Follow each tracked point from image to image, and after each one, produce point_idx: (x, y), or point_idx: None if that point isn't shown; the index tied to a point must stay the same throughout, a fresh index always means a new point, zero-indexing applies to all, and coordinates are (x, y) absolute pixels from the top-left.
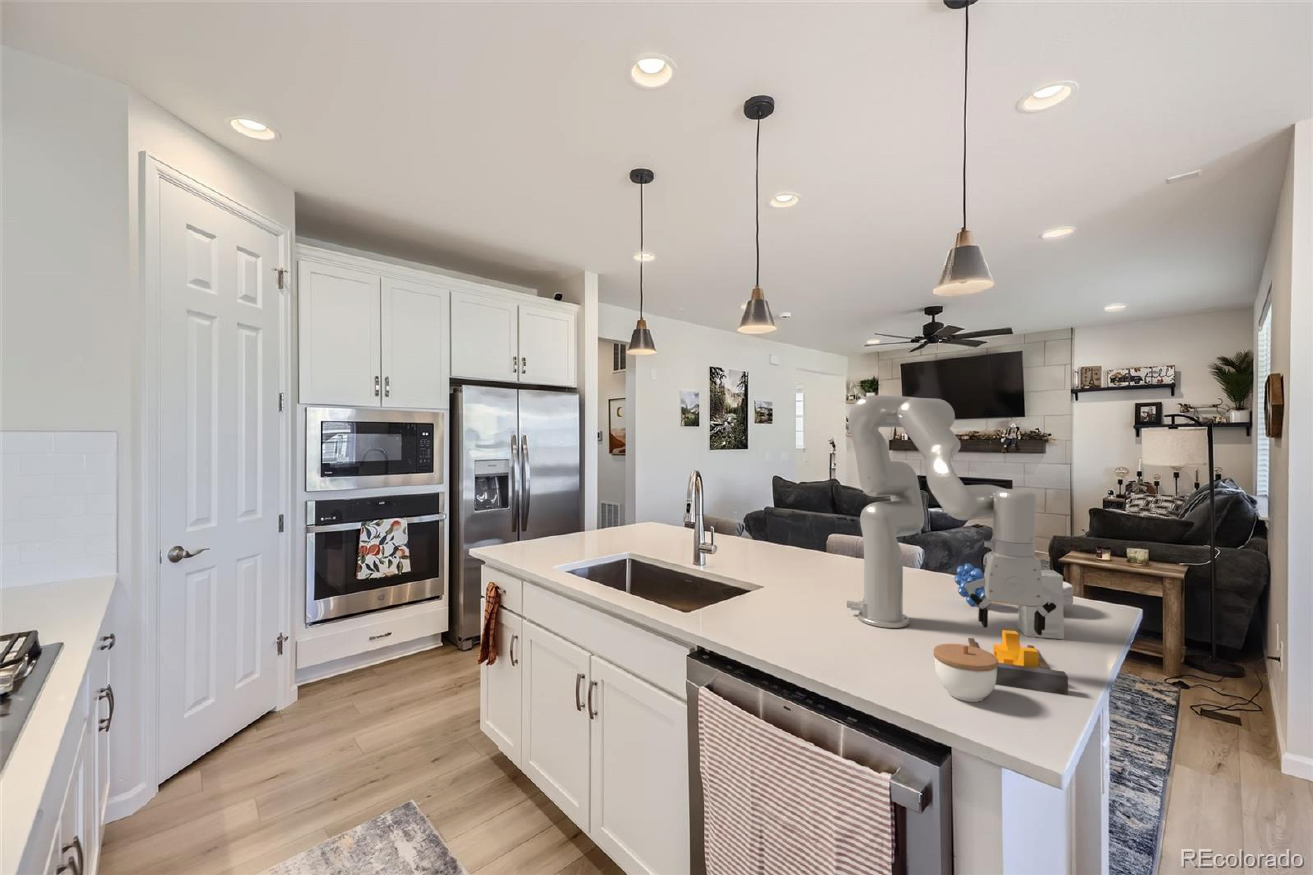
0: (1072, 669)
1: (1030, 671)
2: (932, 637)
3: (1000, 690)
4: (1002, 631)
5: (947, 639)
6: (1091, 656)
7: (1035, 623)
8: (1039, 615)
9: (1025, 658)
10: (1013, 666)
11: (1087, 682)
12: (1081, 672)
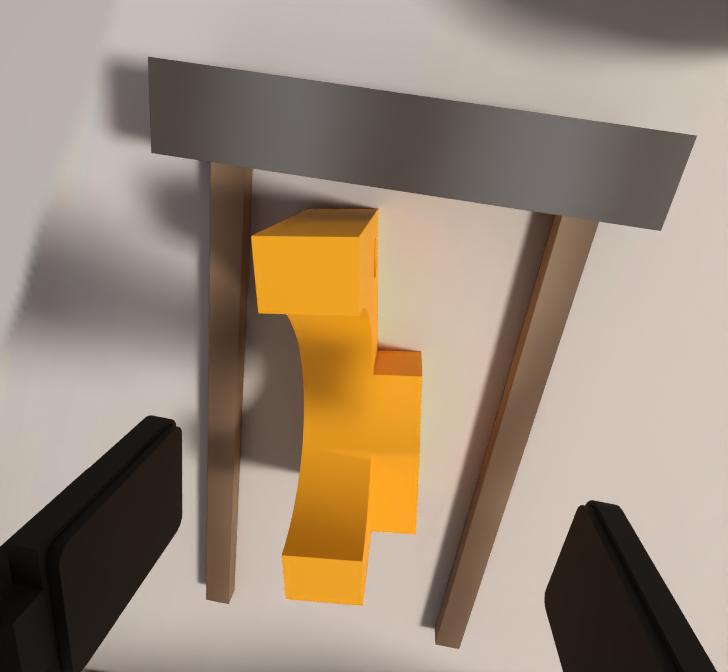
0: (111, 414)
1: (370, 89)
2: None
3: (568, 31)
4: (363, 596)
5: (546, 641)
6: None
7: (142, 542)
8: (33, 574)
9: (353, 228)
10: (457, 157)
11: (80, 280)
12: (82, 389)
